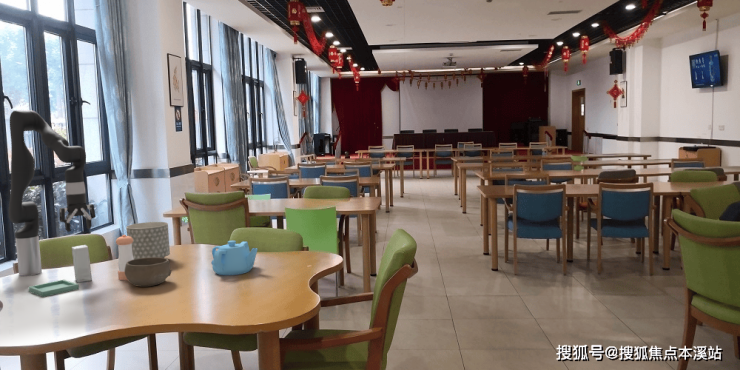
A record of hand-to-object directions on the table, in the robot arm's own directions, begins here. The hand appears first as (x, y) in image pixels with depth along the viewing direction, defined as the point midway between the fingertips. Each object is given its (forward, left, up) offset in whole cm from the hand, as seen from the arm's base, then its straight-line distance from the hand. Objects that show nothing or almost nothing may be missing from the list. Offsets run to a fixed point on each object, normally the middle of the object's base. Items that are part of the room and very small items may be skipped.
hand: (78, 229), depth 264 cm
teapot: (+45, +47, -22) cm, 69 cm away
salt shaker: (+14, +13, -22) cm, 29 cm away
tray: (+7, -15, -22) cm, 28 cm away
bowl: (+32, +13, -22) cm, 41 cm away
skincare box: (0, 0, -22) cm, 22 cm away
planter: (-8, +36, -22) cm, 43 cm away
